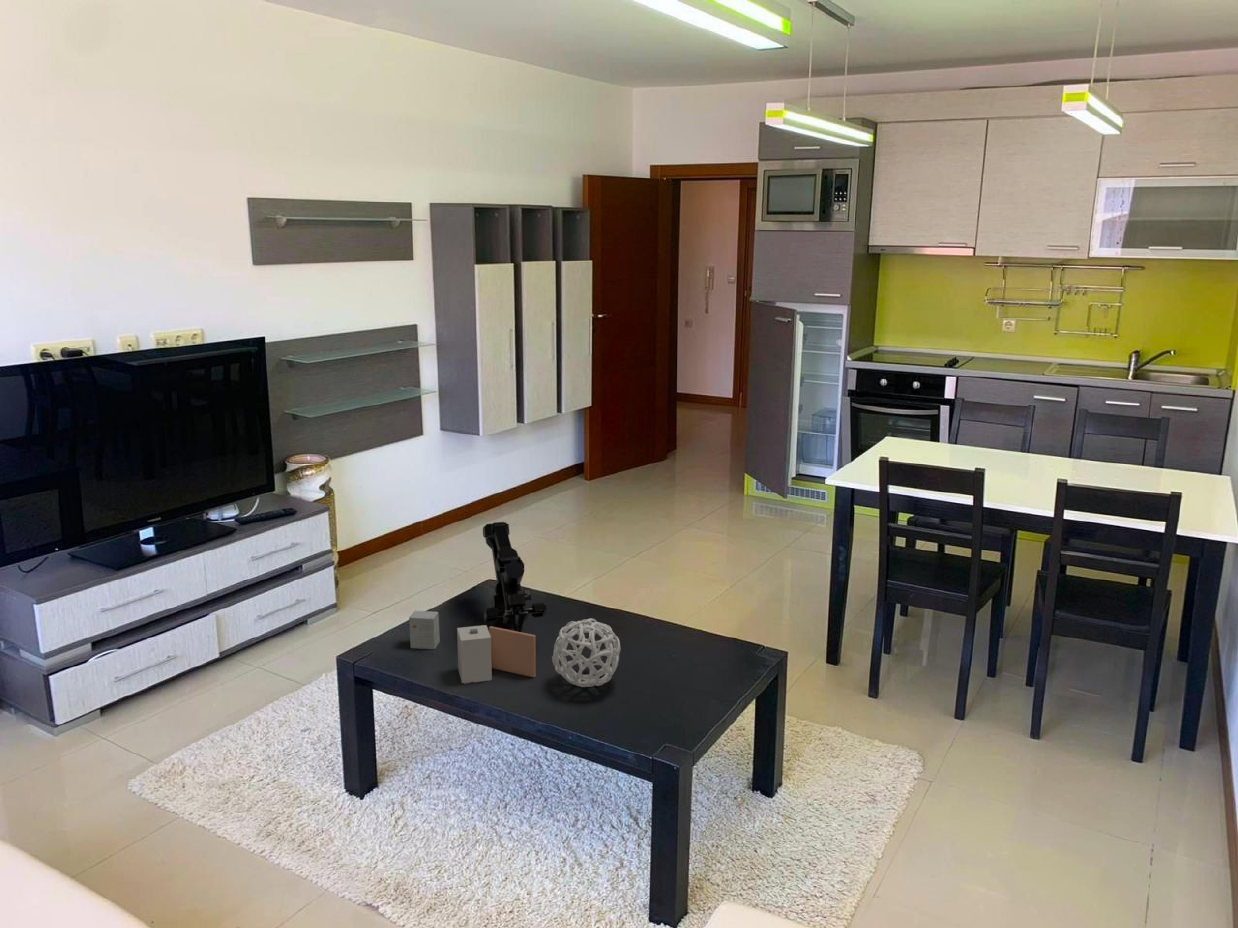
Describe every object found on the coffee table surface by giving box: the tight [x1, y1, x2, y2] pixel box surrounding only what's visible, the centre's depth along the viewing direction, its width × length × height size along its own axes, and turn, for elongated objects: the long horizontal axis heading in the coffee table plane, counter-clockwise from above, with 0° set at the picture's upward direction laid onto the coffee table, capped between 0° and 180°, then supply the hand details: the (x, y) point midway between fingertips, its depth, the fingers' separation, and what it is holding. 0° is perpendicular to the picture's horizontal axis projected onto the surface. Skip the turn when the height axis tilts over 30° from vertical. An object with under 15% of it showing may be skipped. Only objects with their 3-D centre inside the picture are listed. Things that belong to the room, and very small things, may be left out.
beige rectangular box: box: [456, 624, 493, 684], centre depth 271 cm, size 10×9×14 cm
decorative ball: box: [551, 617, 622, 688], centre depth 265 cm, size 20×20×19 cm
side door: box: [488, 625, 537, 678], centre depth 272 cm, size 1×15×13 cm, turn 67°
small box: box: [408, 610, 441, 650], centre depth 290 cm, size 8×6×10 cm
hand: (518, 638), depth 281 cm, fingers closed
